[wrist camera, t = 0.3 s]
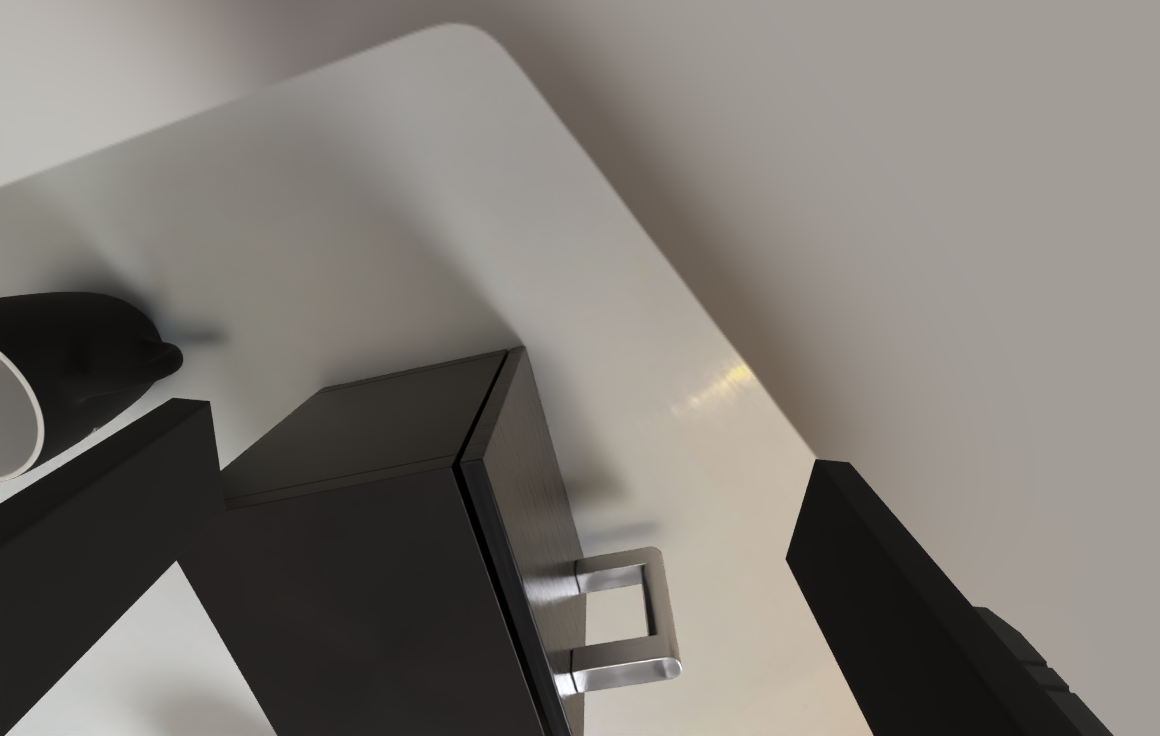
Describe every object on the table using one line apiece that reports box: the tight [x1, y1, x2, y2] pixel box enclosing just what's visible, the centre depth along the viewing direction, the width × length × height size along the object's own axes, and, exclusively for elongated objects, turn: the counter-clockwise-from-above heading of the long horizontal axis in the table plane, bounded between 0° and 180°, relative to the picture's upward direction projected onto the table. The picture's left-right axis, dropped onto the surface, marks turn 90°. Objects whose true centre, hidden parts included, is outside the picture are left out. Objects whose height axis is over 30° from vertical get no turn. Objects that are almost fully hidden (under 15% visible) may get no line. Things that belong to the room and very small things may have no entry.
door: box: [459, 346, 682, 736], centre depth 32 cm, size 7×18×15 cm, turn 13°
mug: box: [0, 292, 183, 482], centre depth 32 cm, size 12×9×10 cm
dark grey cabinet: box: [177, 349, 552, 736], centre depth 33 cm, size 13×18×15 cm
